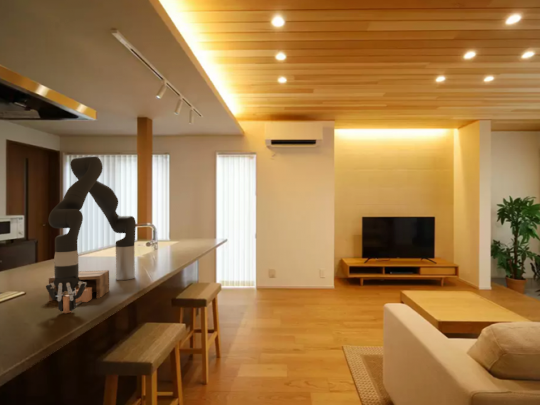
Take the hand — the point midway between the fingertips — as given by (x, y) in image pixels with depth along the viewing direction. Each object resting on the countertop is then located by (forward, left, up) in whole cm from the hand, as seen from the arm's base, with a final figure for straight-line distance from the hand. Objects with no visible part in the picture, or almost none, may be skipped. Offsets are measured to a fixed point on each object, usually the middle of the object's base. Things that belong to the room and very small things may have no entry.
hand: (67, 310), depth 120 cm
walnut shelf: (-23, -5, -1) cm, 24 cm away
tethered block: (-8, 0, -1) cm, 8 cm away
